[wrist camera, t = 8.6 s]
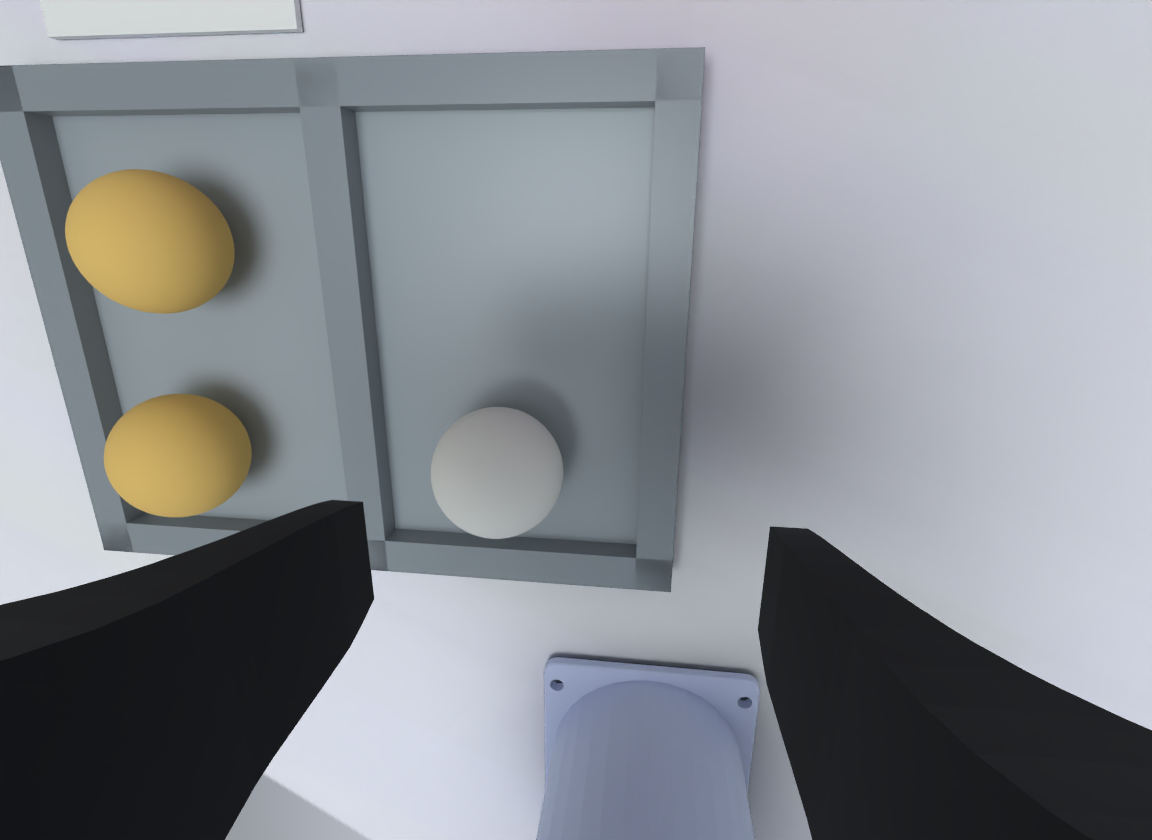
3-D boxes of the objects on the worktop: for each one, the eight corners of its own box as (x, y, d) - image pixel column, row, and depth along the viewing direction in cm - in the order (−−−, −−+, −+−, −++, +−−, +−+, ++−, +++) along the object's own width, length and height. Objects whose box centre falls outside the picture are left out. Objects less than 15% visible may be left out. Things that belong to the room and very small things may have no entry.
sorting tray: (669, 569, 22) (670, 591, 20) (134, 531, 24) (104, 549, 23) (701, 61, 17) (705, 47, 15) (22, 77, 19) (-25, 66, 18)
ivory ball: (570, 506, 21) (552, 569, 17) (457, 499, 21) (415, 559, 17) (571, 393, 19) (551, 435, 16) (451, 389, 20) (404, 428, 16)
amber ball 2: (284, 489, 22) (206, 544, 18) (182, 483, 22) (86, 536, 18) (267, 382, 21) (180, 417, 17) (160, 378, 21) (53, 411, 17)
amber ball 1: (270, 306, 20) (185, 324, 16) (156, 304, 20) (45, 321, 16) (251, 175, 19) (154, 161, 15) (130, 175, 19) (4, 161, 15)
